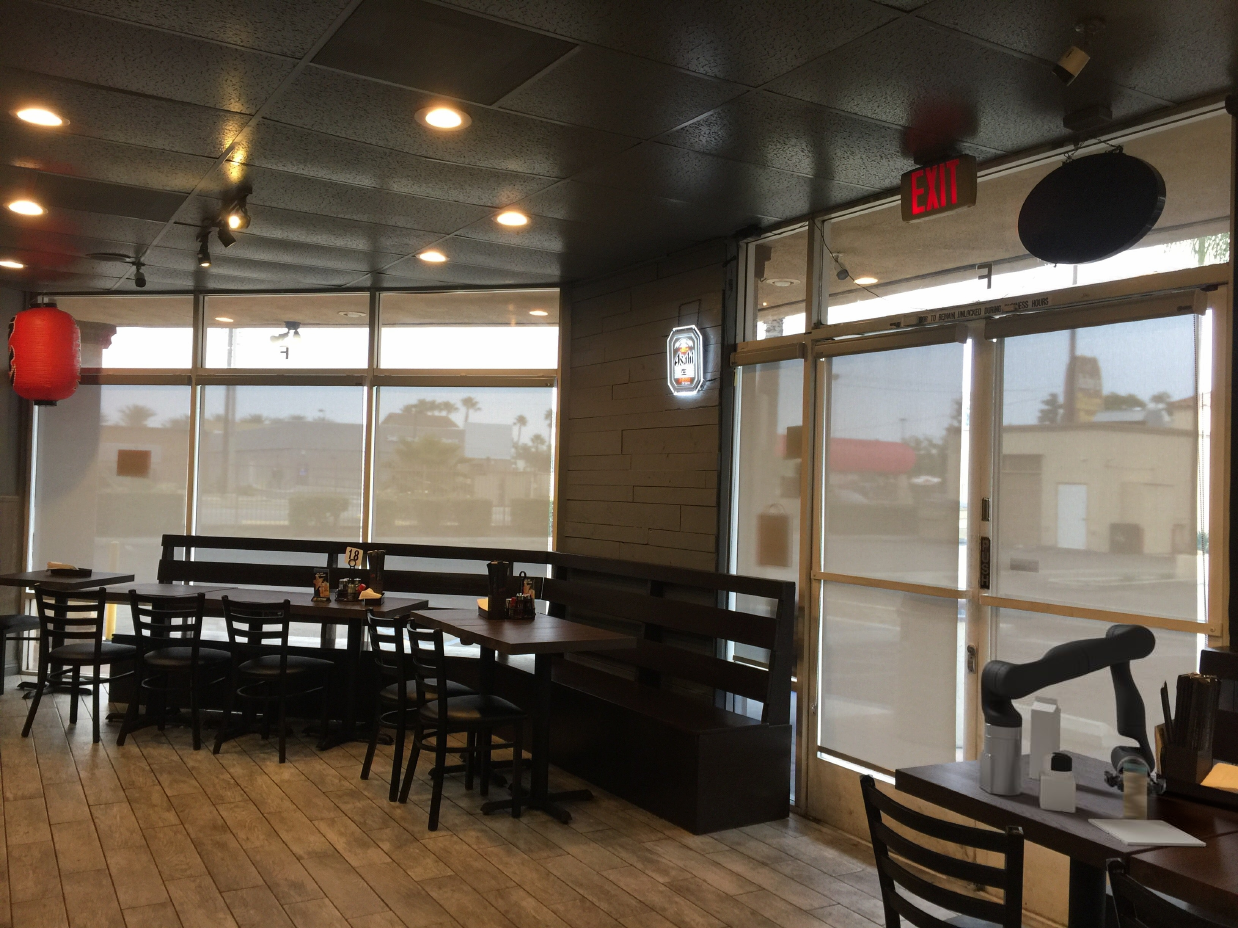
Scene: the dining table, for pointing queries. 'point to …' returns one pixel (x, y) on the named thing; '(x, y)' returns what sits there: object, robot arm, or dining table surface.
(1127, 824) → the mat
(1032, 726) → the milk
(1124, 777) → the block
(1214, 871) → the dining table surface
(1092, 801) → the dining table surface
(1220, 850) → the dining table surface
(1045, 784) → the container
